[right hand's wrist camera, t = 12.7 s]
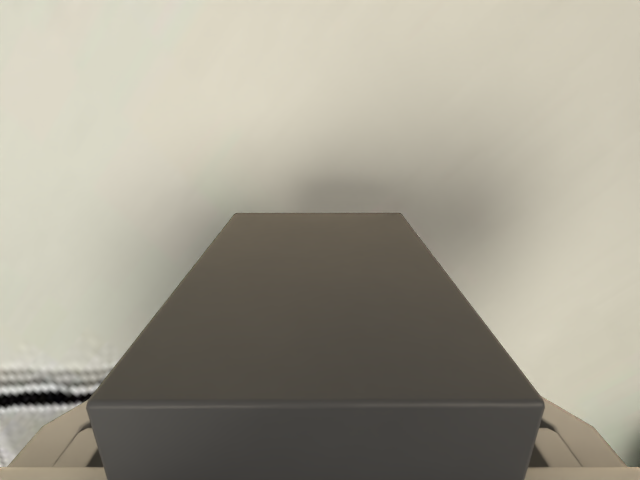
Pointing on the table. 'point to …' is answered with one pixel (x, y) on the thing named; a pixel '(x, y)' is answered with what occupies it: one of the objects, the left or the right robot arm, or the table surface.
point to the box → (316, 365)
